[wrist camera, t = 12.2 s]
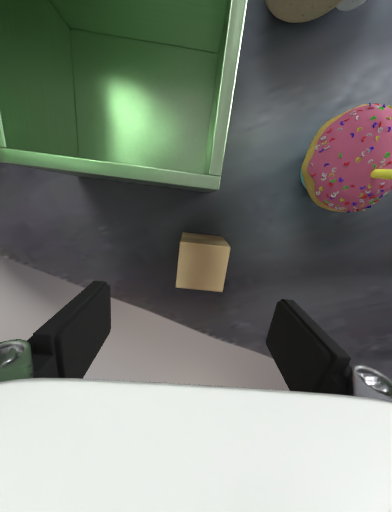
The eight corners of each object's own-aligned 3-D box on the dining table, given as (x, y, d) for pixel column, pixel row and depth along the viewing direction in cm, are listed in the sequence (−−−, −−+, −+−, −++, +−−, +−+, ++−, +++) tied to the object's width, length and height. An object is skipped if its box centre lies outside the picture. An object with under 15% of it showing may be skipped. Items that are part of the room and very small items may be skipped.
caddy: (227, 50, 17) (261, -92, 9) (208, 192, 21) (219, 190, 13) (65, 22, 16) (-71, -164, 8) (76, 176, 20) (-7, 161, 12)
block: (222, 236, 23) (230, 247, 18) (216, 273, 24) (222, 292, 19) (182, 232, 22) (180, 241, 18) (179, 269, 24) (175, 287, 19)
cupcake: (350, 206, 22) (524, 216, 10) (279, 212, 22) (374, 229, 10) (365, 121, 19) (619, 11, 8) (284, 128, 19) (418, 30, 8)
